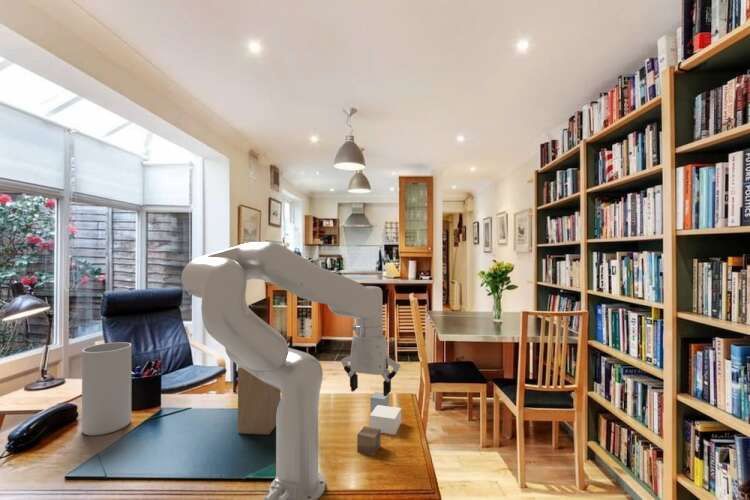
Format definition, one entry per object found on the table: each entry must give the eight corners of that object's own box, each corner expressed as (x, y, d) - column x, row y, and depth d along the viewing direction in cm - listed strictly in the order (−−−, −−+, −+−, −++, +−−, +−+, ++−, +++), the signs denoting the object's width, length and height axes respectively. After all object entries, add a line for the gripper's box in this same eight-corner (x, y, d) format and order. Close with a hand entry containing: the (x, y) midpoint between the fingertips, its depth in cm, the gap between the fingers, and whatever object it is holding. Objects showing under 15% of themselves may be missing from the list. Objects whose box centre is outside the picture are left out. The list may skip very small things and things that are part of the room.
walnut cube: (374, 456, 98) (374, 437, 98) (357, 452, 99) (357, 434, 99) (380, 447, 102) (380, 429, 102) (364, 443, 104) (364, 426, 104)
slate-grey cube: (384, 414, 123) (384, 399, 123) (370, 411, 125) (370, 397, 125) (388, 408, 128) (388, 394, 128) (375, 406, 130) (375, 392, 130)
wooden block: (281, 420, 119) (281, 358, 119) (269, 435, 109) (269, 368, 109) (251, 418, 120) (251, 358, 120) (237, 433, 110) (237, 367, 110)
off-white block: (394, 435, 109) (394, 418, 109) (369, 431, 111) (369, 415, 111) (401, 423, 117) (401, 408, 117) (377, 420, 119) (377, 404, 119)
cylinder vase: (112, 436, 108) (112, 352, 108) (70, 436, 108) (71, 352, 108) (140, 417, 120) (140, 342, 120) (103, 417, 121) (103, 342, 121)
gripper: (335, 331, 101) (336, 393, 101) (394, 336, 95) (395, 401, 95) (347, 326, 108) (347, 383, 108) (403, 330, 102) (403, 391, 102)
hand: (370, 392), depth 101 cm, fingers open, 9 cm apart
